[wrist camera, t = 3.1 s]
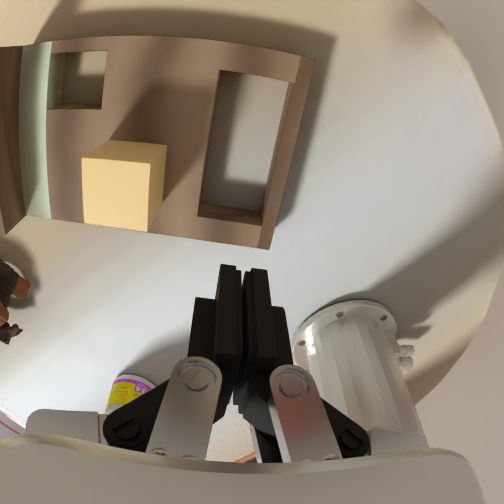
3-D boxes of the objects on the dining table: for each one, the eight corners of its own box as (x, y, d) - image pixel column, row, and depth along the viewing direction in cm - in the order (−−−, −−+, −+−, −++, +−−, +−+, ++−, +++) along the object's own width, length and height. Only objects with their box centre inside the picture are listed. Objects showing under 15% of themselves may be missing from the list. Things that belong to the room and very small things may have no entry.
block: (167, 145, 21) (150, 163, 17) (162, 202, 23) (147, 231, 19) (108, 139, 20) (81, 157, 16) (107, 196, 23) (84, 223, 19)
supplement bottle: (167, 395, 42) (155, 474, 31) (131, 399, 43) (115, 472, 32) (142, 369, 38) (124, 455, 27) (105, 374, 39) (83, 452, 28)
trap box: (307, 60, 20) (328, 58, 15) (267, 234, 28) (272, 276, 23) (31, 46, 17) (-14, 49, 12) (31, 202, 25) (-3, 233, 20)
